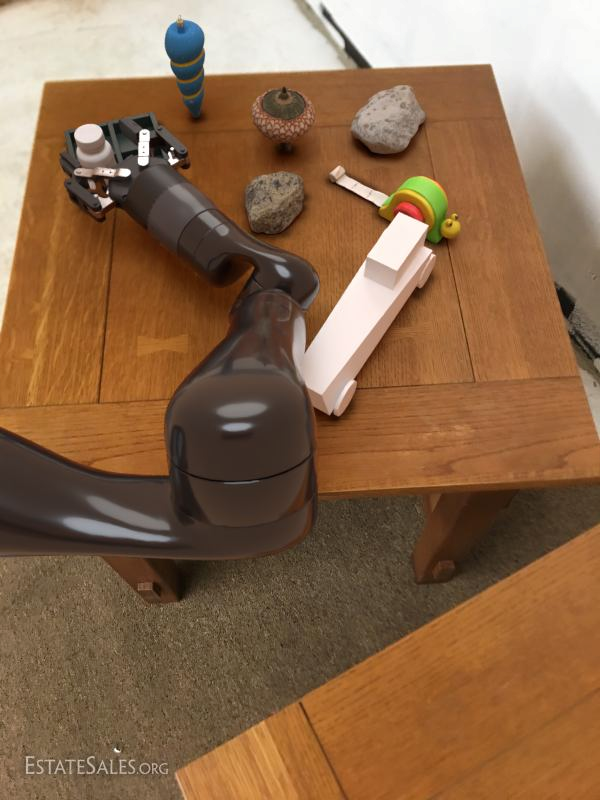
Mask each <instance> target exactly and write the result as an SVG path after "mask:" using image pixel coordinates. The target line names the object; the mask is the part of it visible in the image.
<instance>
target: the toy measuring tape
mask: <svg viewBox="0 0 600 800" xmlns="http://www.w3.org/2000/svg"><path fill="white" fill-rule="evenodd" d="M328 178H329V180H330V182H331V183H336V184H337V185H338V186H341V187H343V188H345V189H347V190H349V191H351V192H353V193H355V194H356V195H358V196H360V197H362V198H364V199H365V200H367V201H370V202H372V203H373V204H374V205H376V206H377V207H378V208H379V209H378V215H379V216H380V217H382V218H384V219H386V220H387V221H388V222H390V223H391V222H392V221H393V220H394V218H395V217H396V216H397V214H398V213H399V212H400V213H402V214H404V215H407V216H409V217H411V218H413V219H416V220H418V221H420V222H422V223H424V224H427V225H429V227H428V230H427V234H426V238H425V240H427V241H430V242H431V243H433V244H434V245H435V244H436V245H437V244H438V243H439V242H440V241H441V239H442V238H443V237H444V238H446V239H454V238H456V237H458V235H459V234H460V233H461V228H462V227H461V223H460V222H459V220H458V219H459V215H458V214H457V213H452V214H451V215H450V217H449V218H447V212H448V210H449V201H448V197H447V194H446V191H445V190H444V188H443V186H442V185H441V184H440V183H439V182H438V181H436V180H433V179H432V178H429V177H427V176H423V175H420V176H419V175H417V176H412V177H409V178H408V179H406V180H405V181H404V182H403V183H402V185H400V187H398V188H397V190H396V191H395V192H394V193H393V192H392V193H391V195H390V196H389V195H387V194H385V193H383V192H381V191H379V190H376V189H372V188H370V187H368V186H366V185H364V184H362V183H361V182H359V181H357V180H355V179H353V178H351V177H349V176H348V175H347V174H346V169H345V168H344V167H343V166H342V165H338V166H336V167H335V168H334V169H333V170H332V171H331V172H329V173H328Z"/></svg>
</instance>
